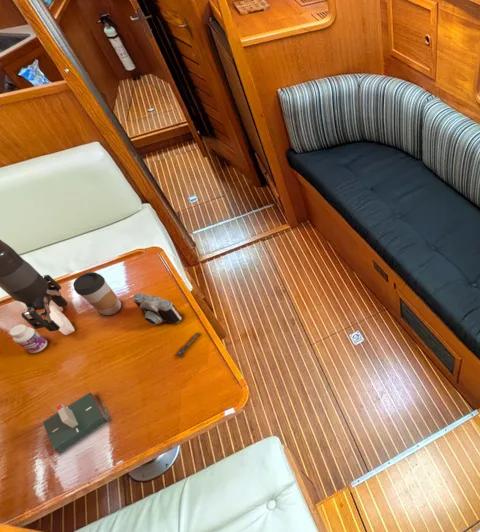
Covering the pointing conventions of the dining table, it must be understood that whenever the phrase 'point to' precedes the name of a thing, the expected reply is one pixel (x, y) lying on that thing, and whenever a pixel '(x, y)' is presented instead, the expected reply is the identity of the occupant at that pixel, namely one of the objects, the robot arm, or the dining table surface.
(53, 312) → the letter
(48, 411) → the dining table surface
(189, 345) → the can opener
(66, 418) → the tap handle
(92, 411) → the green switch panel
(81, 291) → the coffee cup
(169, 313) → the camera
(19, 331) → the pill bottle
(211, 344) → the dining table surface
